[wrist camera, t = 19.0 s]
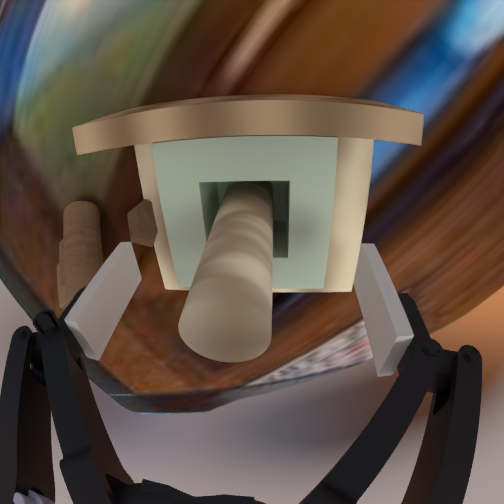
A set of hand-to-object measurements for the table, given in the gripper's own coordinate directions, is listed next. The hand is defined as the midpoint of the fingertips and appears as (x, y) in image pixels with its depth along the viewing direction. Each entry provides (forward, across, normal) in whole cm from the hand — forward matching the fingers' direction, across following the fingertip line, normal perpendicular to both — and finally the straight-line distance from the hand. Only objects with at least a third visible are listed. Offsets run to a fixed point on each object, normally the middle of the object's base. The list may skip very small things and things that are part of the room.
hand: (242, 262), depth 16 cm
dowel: (+11, 0, 0) cm, 11 cm away
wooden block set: (+13, +19, +5) cm, 24 cm away
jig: (+13, 0, +2) cm, 13 cm away
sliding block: (+12, 0, 0) cm, 12 cm away
